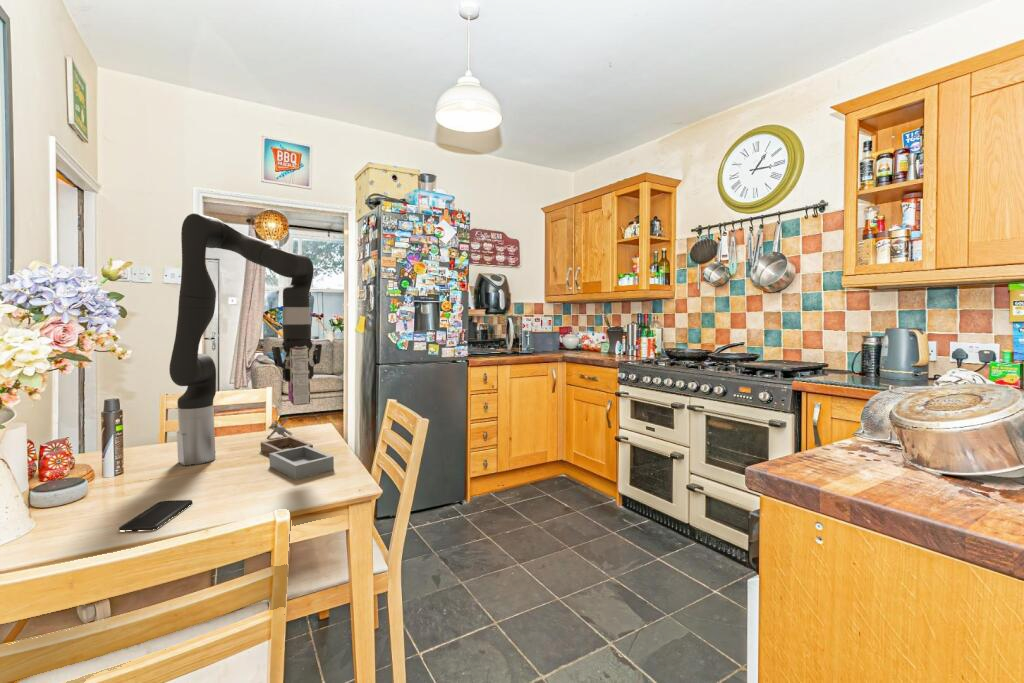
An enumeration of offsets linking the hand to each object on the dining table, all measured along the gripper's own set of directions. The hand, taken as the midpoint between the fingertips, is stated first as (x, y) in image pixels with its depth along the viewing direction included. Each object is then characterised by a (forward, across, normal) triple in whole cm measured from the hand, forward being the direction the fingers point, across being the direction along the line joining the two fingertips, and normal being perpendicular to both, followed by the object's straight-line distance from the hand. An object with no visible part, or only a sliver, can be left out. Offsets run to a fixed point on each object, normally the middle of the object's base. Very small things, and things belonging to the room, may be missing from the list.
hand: (298, 379), depth 141 cm
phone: (+27, +37, +8) cm, 47 cm away
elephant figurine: (+27, -12, -39) cm, 49 cm away
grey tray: (+26, 0, 0) cm, 26 cm away
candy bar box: (+7, 0, 0) cm, 7 cm away
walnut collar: (+27, -4, -19) cm, 33 cm away
